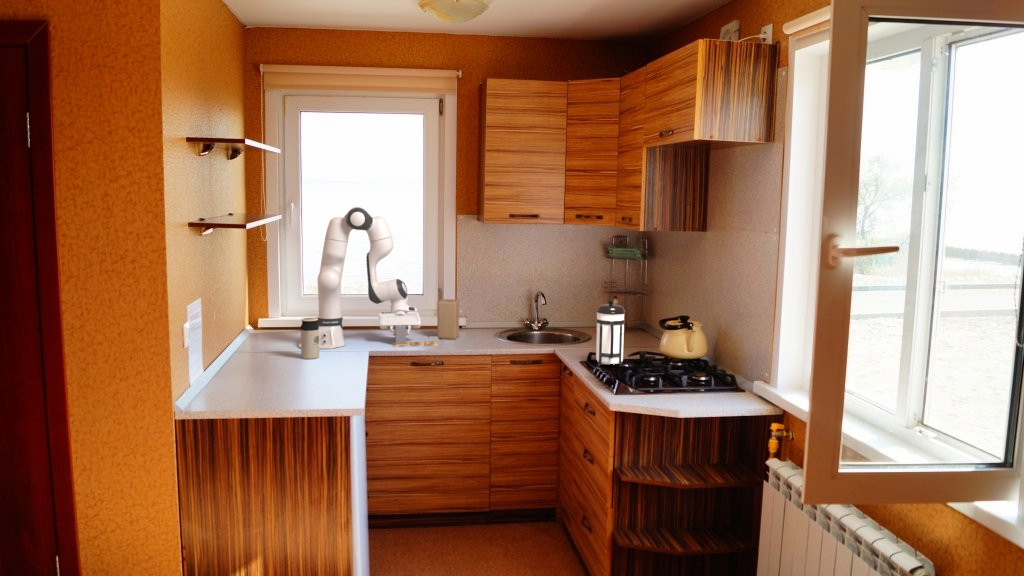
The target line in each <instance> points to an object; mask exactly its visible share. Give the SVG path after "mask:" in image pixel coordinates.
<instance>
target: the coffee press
mask: <svg viewBox="0 0 1024 576" xmlns="http://www.w3.org/2000/svg"><path fill="white" fill-rule="evenodd" d="M614 302H615V301H614V299H613V298H610V299H608V303H603V304H600V305H599V306H598V307H597V309H595V312H596V319H595V320H596V321H595V322H596V341H595V343H596V345H595V351H596V352H595V361H596V360H597V362H598V363H596V366H597V365H598V366H600V365H602V366H603V365H610V364H613V365H615V364H619V365H620V366H621V365H623V366H624V364H623V361H624V339H625V338H624V337H625V336H624V333H625V323H626V322H625V321H626V320H625V314H626V310H625V308H624V306H622V305H620V304H616V303H614Z"/></svg>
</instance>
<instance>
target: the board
mask: <svg viewBox="0 0 1024 576" xmlns="http://www.w3.org/2000/svg"><path fill="white" fill-rule="evenodd" d="M391 344H392V347H393V348H401V347H403V348H407V347H409V348H410V347H438V346H439V344H438V342H437V341H435V340H434V341H433V340H430V341H406V345H396V344H395V341H393V342H392V343H391Z"/></svg>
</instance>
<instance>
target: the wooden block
mask: <svg viewBox="0 0 1024 576" xmlns="http://www.w3.org/2000/svg"><path fill="white" fill-rule="evenodd" d="M436 308H437V309H436V310H437V312H436V313H437V316H436V317H437V332H436V333H437V338H438V339H439V338H441V339H440V340H456V339H457V338H458V337H459V336H460V301H459V299H447V298H444V299H443V298H442V299H440V300H438V301H437V307H436Z"/></svg>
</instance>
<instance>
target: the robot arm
mask: <svg viewBox="0 0 1024 576" xmlns="http://www.w3.org/2000/svg"><path fill="white" fill-rule="evenodd" d="M389 227H390V226H389V225H388V223H387V221H386V219H385V218H384V217H383V216H372V215H370V214H369V212H368V210H366V209H365V208H364V207H361V206H354V207H352V208H350V209H349V210H348V211H347V213H346V214H345V215H344V217H341V216H337V217H336V216H335V217H332V218H331V219H330V221H329V223H328V226H327V228H326V231H325V235H324V236H325V237H324V242H323V247H322V254H321V261H320V268H319V273H318V276H317V299H318V300H317V301H318V317H314V318H318V320H317V324H318V325H319V350H331V349H335V348H336V349H337V348H340V347H341V348H342V347H344V346H346V341H345V339H344V338H345V337H344V331H343V329H344V319H343V315H342V313H343V311H342V307H343V306H342V277H343V272H344V266H345V262H346V261H345V259H346V255H347V250H348V249H347V248H348V242H349V236H350V233H351V231H352V230H355V231H365V232H366V234H367V236H368V240H369V243H370V244H369V245H370V246H369V247H370V248H369V251H368V252H367V253H366V259H365V262H366V273H367V288H368V290H367V291H368V292H367V294H368V298H369V300H370V302H372V303H373V304H377V305H379V304H381V303H384V302H388V301H390V304H391V305H390V311H386V312H385V311H383V312H381V313H379V314H378V318H379V328H380V329H381V330H389V331H390V333H392V336H394V337H395V335H396V331H395V326H406V336H409V334H410V332H411V331H412V330H411V329H420V328H421V324H422V323H421V321H422V320H421V316H420V314H419V313H418V308H417V307H414V306H411V305H409V304H408V302H409V298H408V297H409V296H408V289H407V288H408V287H407V285H406V283H405V282H404V281H402V280H401V279H399V278H397V279H391V280H386V281H382V282H378V278H377V268H376V267H377V265H378V264H379V262H380V261H381V260H383V259H385V258H386V257H387V256H388V255H390V253H392V251H393V250H394V249H393V248H394V240H393V236H392V233H391V232H392V231H391V230H390V228H389ZM298 348H299V349H301V342H299V344H298Z"/></svg>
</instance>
